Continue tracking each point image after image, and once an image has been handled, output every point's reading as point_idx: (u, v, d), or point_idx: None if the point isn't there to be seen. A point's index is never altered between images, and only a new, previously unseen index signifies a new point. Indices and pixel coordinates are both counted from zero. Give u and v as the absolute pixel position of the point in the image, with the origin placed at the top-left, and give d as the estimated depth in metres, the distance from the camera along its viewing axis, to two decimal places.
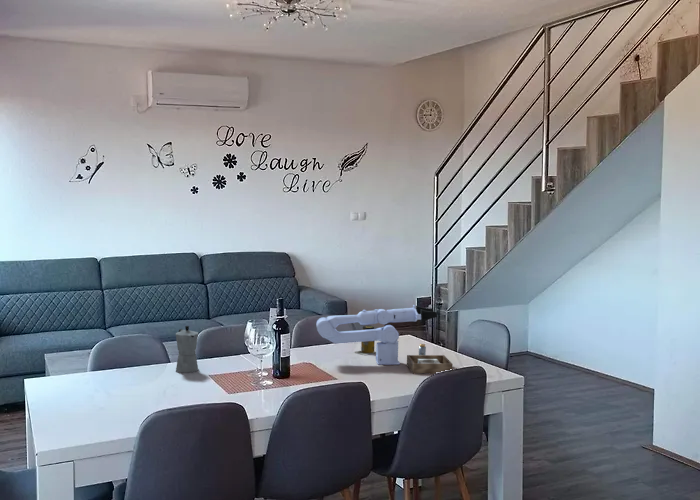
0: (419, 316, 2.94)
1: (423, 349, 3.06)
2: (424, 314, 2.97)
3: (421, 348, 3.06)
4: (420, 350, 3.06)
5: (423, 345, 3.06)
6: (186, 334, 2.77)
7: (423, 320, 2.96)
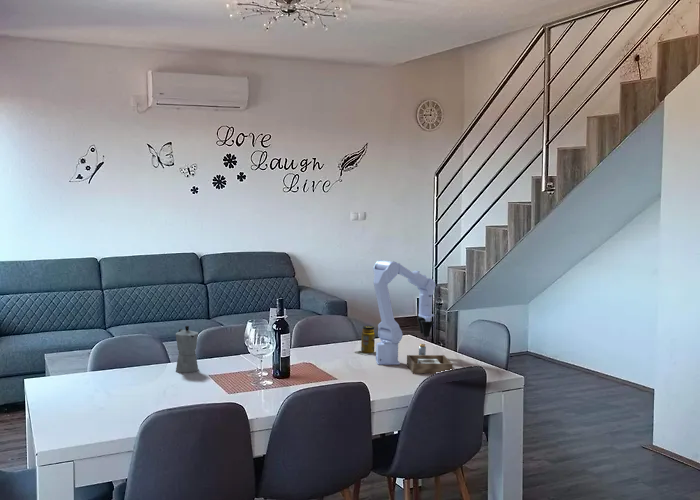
0: (429, 319, 3.06)
1: (423, 349, 3.06)
2: (427, 324, 3.09)
3: (421, 348, 3.06)
4: (420, 350, 3.06)
5: (423, 345, 3.06)
6: (186, 334, 2.77)
7: (423, 323, 3.08)
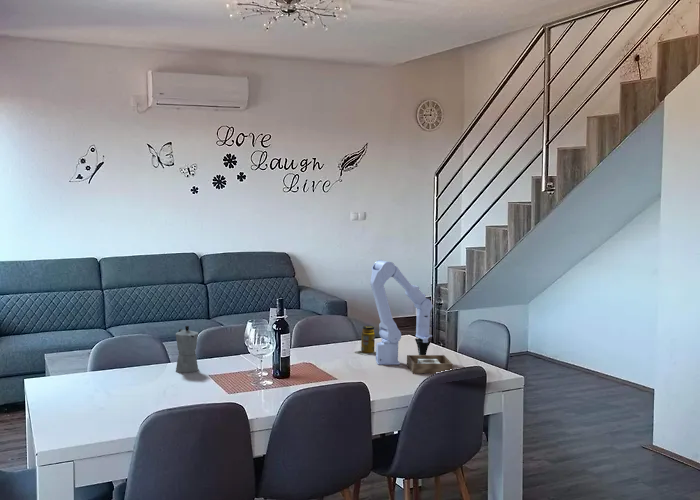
0: (426, 341, 3.00)
1: None
2: (424, 344, 3.05)
3: None
4: None
5: None
6: (186, 334, 2.77)
7: (420, 343, 3.03)
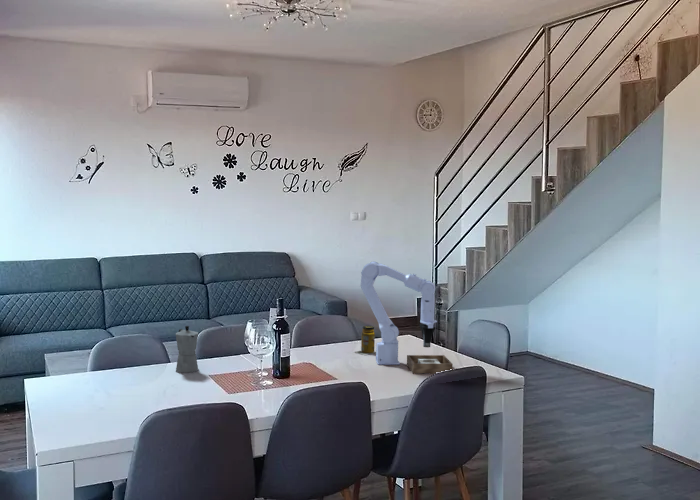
0: (431, 326, 2.90)
1: None
2: (429, 330, 2.95)
3: None
4: None
5: None
6: (186, 334, 2.77)
7: (424, 329, 2.93)
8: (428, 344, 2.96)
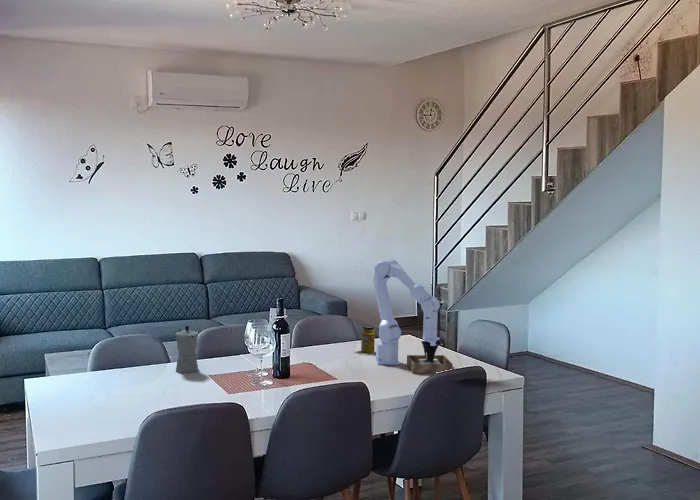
0: (433, 344, 2.84)
1: None
2: (432, 348, 2.88)
3: None
4: None
5: None
6: (186, 334, 2.77)
7: (427, 347, 2.86)
8: None
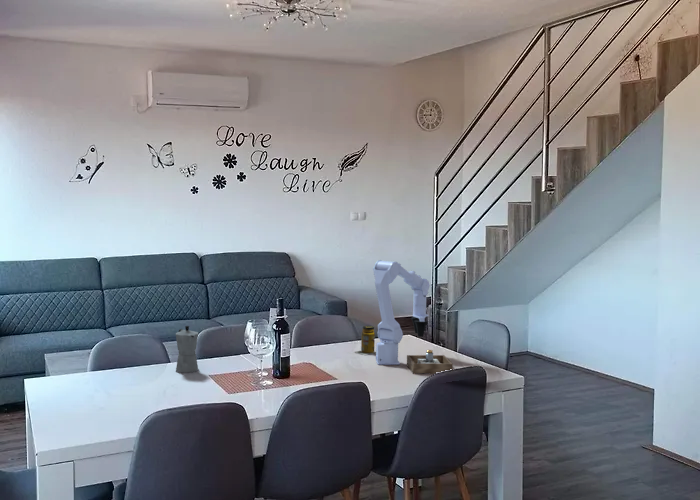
0: (422, 320, 3.08)
1: (430, 355, 2.90)
2: (421, 324, 3.11)
3: (428, 354, 2.90)
4: (427, 356, 2.90)
5: (430, 351, 2.90)
6: (186, 334, 2.77)
7: (417, 323, 3.10)
8: None
